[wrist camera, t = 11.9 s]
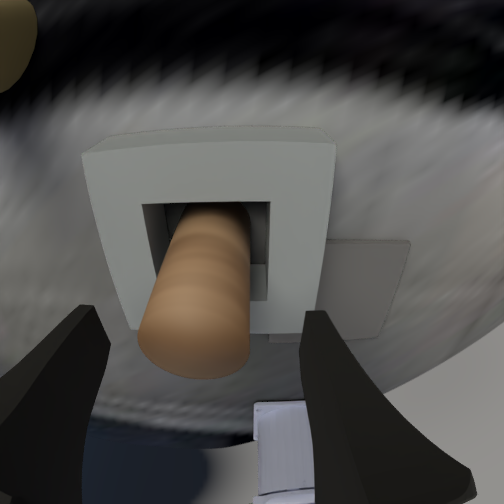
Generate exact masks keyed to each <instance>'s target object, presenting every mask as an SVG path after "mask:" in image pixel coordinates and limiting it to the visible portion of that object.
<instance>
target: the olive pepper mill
mask: <svg viewBox="0 0 504 504" xmlns="http://www.w3.org/2000/svg"><path fill="white" fill-rule="evenodd" d="M36 37H37V17H36V14H35V11H34V8H33V6H32V5H31V4H30V3H29V2H28V1H27V0H0V93H2V92H4V91H6V90H8V89H9V88H10V87H11V86H12V85H13V84H14V83H16V82H17V81H18V80H19V78H20V77H21V75H22V74H23V72H24V70H25V69H26V67H27V66H28V63H29V61H30V58H31V56H32V53H33V51H34V47H35V42H36Z"/></svg>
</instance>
